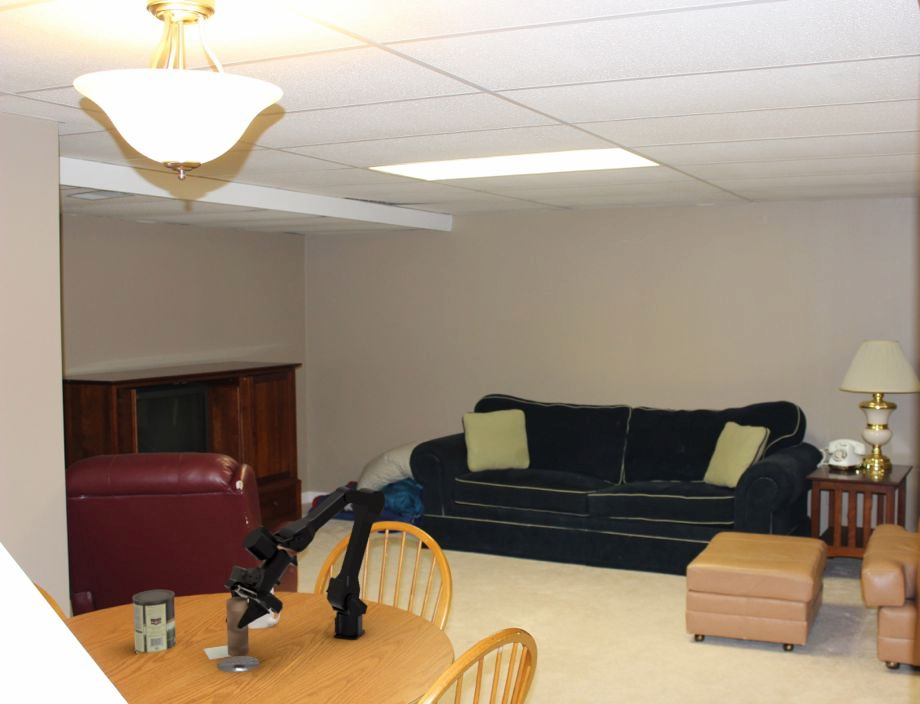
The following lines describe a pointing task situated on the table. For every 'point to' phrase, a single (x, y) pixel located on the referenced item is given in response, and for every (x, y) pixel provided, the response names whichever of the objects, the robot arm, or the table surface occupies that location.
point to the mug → (264, 619)
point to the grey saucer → (238, 664)
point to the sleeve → (236, 636)
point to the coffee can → (154, 620)
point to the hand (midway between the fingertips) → (232, 625)
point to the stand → (217, 652)
